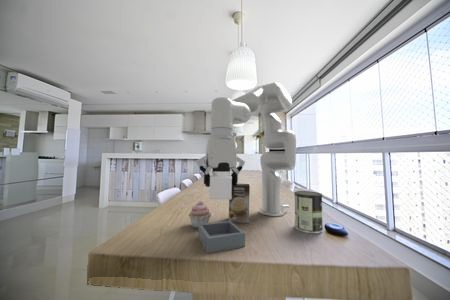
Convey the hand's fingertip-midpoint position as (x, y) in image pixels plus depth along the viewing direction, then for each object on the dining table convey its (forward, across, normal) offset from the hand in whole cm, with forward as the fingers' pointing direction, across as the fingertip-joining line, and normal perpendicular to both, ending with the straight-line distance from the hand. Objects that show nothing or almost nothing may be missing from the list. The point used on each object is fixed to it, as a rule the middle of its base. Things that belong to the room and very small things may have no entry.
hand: (220, 185), depth 61 cm
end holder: (+18, 0, 0) cm, 18 cm away
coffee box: (+18, -15, -17) cm, 29 cm away
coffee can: (+18, -37, +1) cm, 41 cm away
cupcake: (+18, +3, -16) cm, 25 cm away
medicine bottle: (+4, 0, 0) cm, 4 cm away
